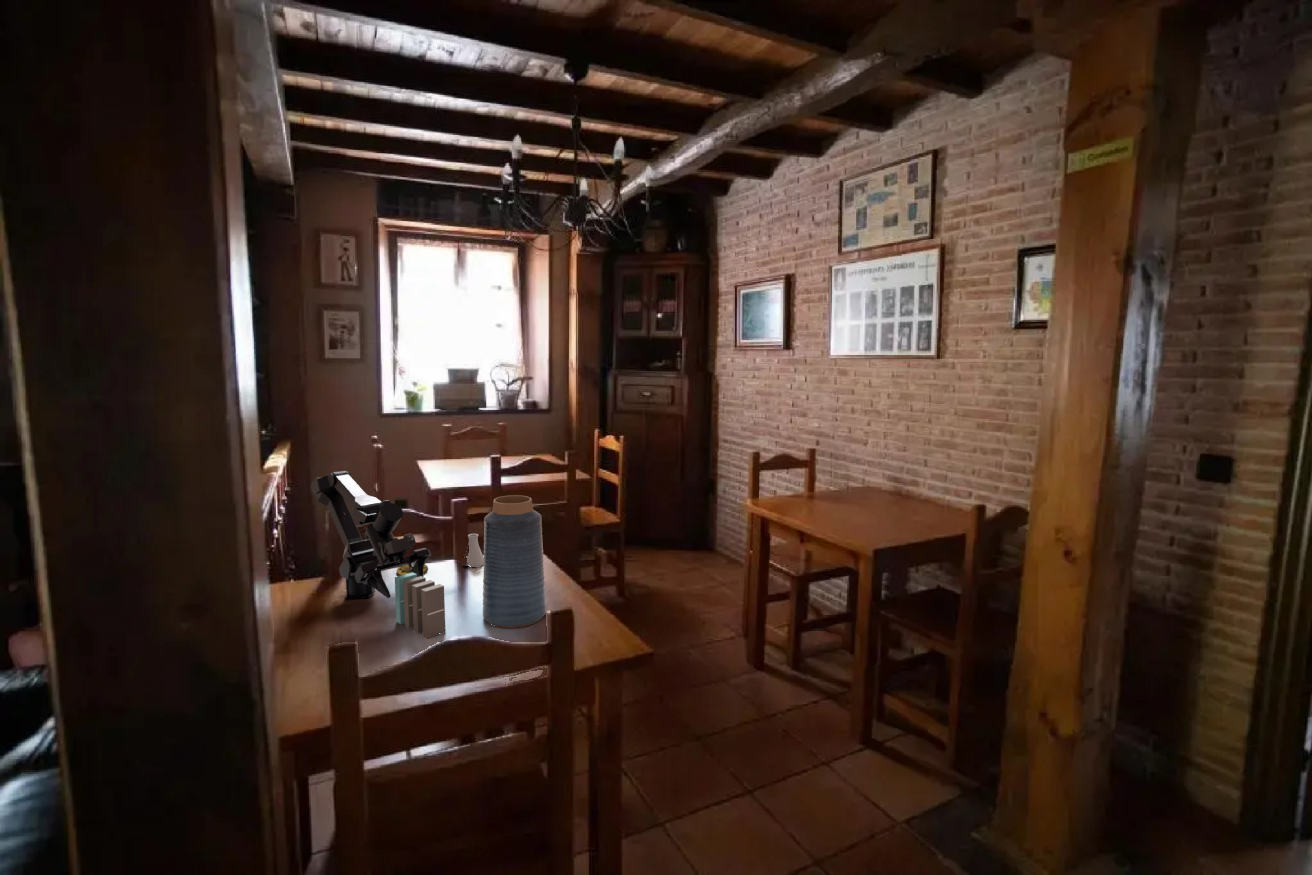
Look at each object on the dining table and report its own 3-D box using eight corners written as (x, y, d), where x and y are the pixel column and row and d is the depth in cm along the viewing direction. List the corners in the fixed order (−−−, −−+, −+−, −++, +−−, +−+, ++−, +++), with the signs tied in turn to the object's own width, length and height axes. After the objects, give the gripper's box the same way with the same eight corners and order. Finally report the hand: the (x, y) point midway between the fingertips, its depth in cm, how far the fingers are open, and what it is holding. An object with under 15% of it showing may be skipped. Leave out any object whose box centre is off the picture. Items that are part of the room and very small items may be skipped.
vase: (479, 608, 177) (476, 494, 173) (539, 601, 183) (538, 490, 179) (486, 633, 162) (483, 509, 158) (551, 624, 168) (550, 504, 164)
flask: (489, 562, 215) (489, 533, 214) (476, 569, 208) (476, 539, 207) (471, 560, 217) (470, 530, 216) (457, 566, 211) (456, 536, 209)
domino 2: (413, 631, 163) (411, 585, 161) (431, 625, 166) (430, 579, 165) (418, 633, 161) (416, 587, 160) (436, 627, 165) (434, 581, 164)
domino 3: (422, 636, 160) (420, 589, 158) (441, 629, 164) (439, 583, 162) (427, 638, 159) (425, 591, 157) (445, 632, 162) (444, 585, 161)
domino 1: (404, 626, 165) (403, 581, 164) (423, 620, 169) (421, 575, 168) (409, 629, 164) (407, 583, 162) (427, 622, 168) (425, 577, 166)
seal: (396, 569, 211) (397, 584, 197) (394, 555, 210) (395, 570, 197) (427, 563, 214) (429, 577, 201) (424, 549, 214) (427, 563, 200)
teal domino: (396, 622, 168) (394, 577, 166) (414, 616, 172) (412, 572, 170) (400, 624, 167) (398, 579, 165) (418, 618, 170) (416, 574, 169)
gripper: (357, 532, 162) (381, 586, 157) (426, 518, 176) (450, 567, 171) (344, 556, 168) (367, 608, 163) (411, 540, 182) (434, 588, 177)
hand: (406, 592), depth 168 cm, fingers open, 9 cm apart
